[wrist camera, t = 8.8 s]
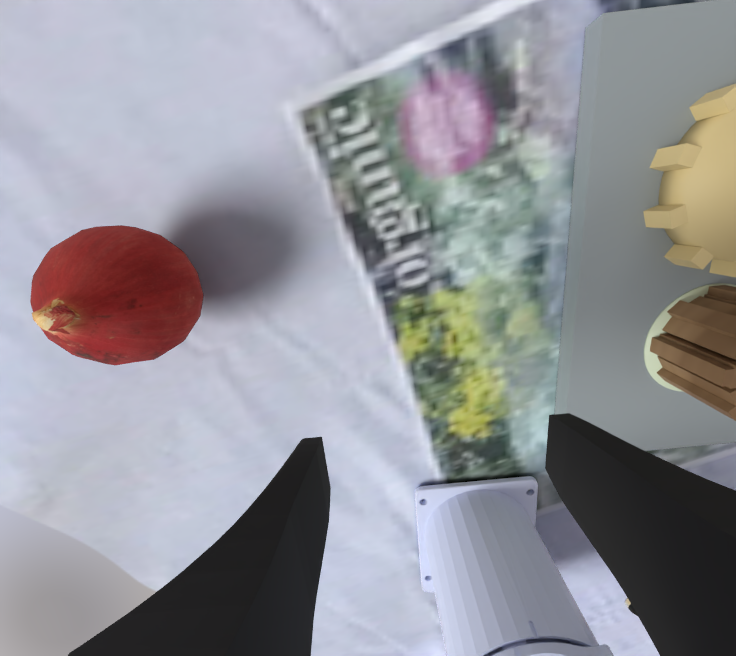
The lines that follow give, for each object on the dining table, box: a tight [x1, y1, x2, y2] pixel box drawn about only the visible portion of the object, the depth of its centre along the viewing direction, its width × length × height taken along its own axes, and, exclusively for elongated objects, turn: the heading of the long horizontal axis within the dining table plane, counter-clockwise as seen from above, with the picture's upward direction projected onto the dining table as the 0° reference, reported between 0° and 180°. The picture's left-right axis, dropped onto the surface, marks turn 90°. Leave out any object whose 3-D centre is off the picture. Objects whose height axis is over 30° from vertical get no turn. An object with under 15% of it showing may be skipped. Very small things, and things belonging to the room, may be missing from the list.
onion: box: [31, 225, 203, 365], centre depth 15 cm, size 6×6×8 cm
